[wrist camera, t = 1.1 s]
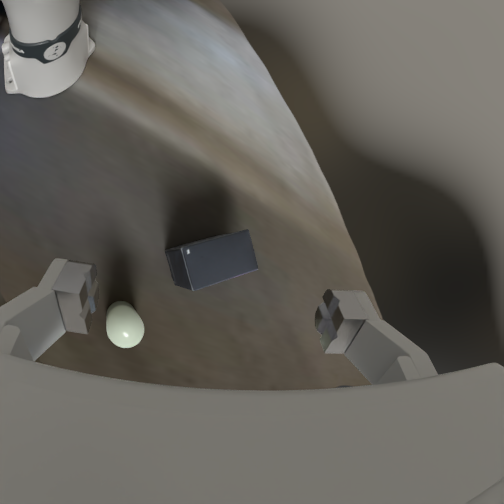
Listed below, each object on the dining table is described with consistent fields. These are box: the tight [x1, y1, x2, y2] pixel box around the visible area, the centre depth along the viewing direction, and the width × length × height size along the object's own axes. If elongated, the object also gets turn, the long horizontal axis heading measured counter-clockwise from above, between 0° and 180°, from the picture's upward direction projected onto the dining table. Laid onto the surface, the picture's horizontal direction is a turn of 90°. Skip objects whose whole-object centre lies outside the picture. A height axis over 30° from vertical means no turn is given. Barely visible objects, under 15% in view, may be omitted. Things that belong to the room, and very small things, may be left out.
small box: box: [165, 229, 258, 291], centre depth 47 cm, size 11×6×10 cm, turn 106°
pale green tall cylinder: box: [106, 301, 144, 348], centre depth 41 cm, size 5×5×10 cm
